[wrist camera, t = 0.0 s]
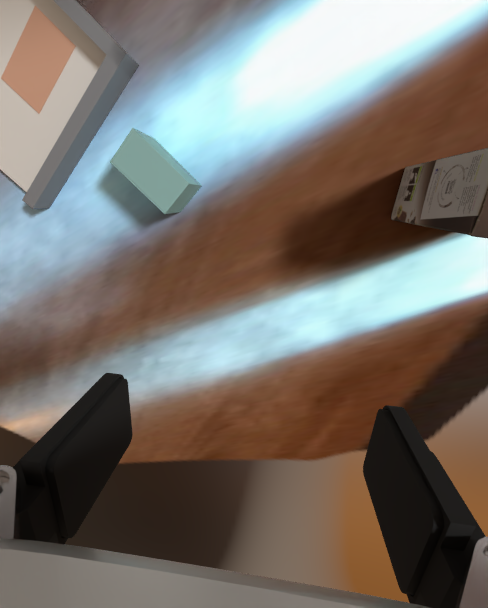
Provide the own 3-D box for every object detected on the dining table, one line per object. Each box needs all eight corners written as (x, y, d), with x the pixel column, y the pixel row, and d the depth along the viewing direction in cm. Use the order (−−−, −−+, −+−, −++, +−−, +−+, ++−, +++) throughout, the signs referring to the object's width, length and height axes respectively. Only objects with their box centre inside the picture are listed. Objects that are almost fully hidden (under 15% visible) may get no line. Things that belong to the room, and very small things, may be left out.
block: (154, 138, 37) (132, 127, 31) (202, 185, 38) (189, 183, 32) (134, 167, 38) (109, 162, 32) (180, 212, 39) (164, 214, 34)
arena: (-25, -105, 30) (-56, -136, 28) (138, 65, 34) (126, 53, 31) (-93, 83, 37) (-123, 74, 35) (49, 208, 41) (32, 208, 38)
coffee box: (389, 221, 37) (467, 236, 22) (404, 165, 35) (503, 139, 19) (463, 230, 36) (596, 252, 21) (484, 174, 34) (649, 154, 19)
